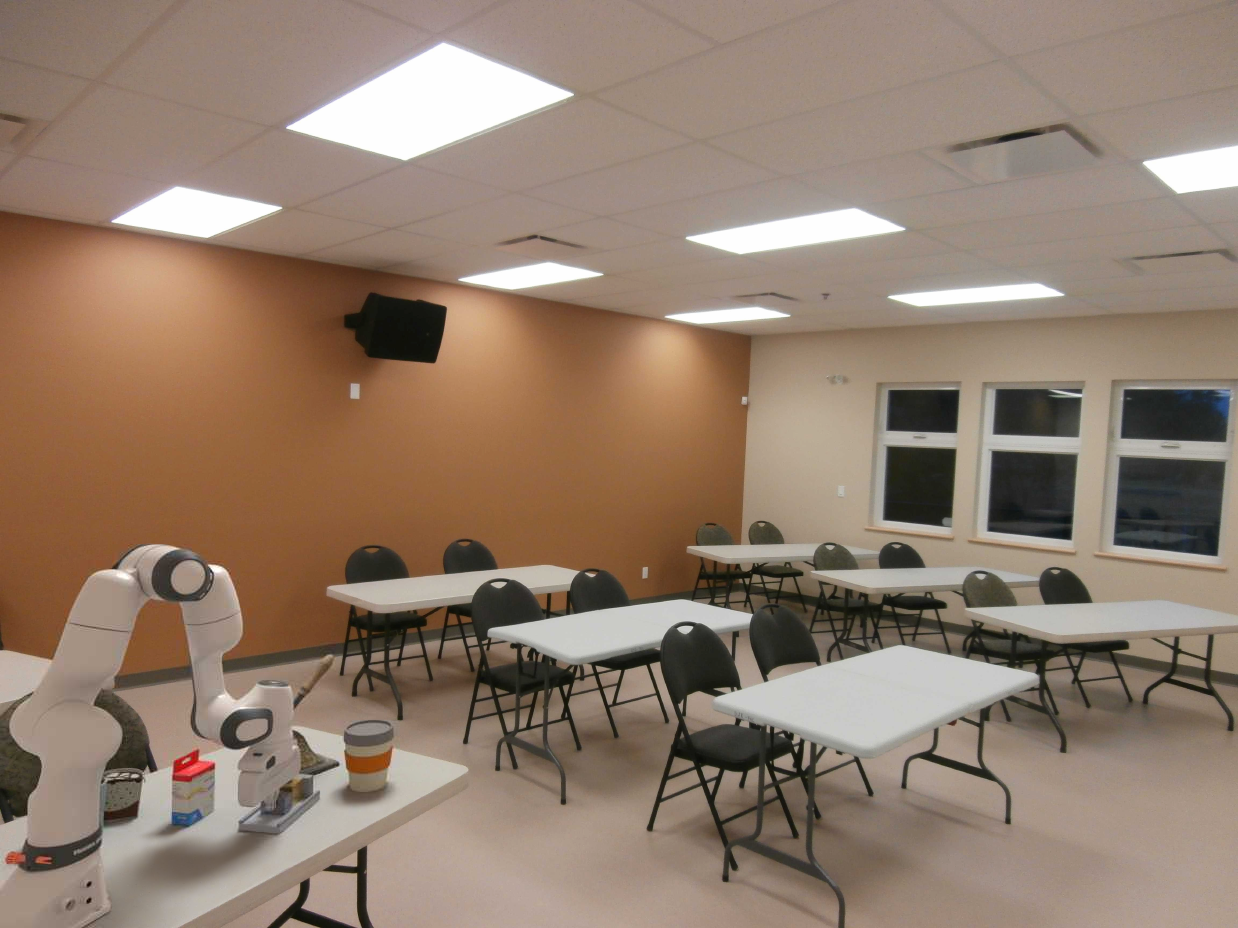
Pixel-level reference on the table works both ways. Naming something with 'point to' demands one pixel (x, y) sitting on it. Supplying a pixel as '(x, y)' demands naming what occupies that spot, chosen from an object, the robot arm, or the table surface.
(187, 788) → the ink box
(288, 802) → the block
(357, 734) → the reusable coffee cup
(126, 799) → the food container
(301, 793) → the housing
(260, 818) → the press bed
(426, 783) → the table surface
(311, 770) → the embossing press
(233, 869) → the table surface
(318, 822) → the table surface
